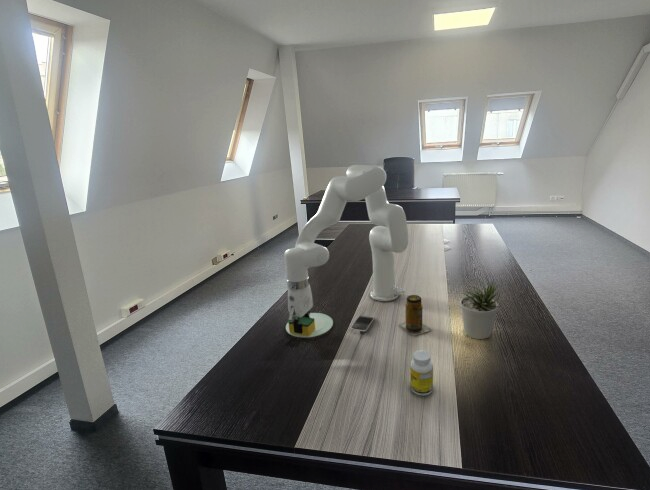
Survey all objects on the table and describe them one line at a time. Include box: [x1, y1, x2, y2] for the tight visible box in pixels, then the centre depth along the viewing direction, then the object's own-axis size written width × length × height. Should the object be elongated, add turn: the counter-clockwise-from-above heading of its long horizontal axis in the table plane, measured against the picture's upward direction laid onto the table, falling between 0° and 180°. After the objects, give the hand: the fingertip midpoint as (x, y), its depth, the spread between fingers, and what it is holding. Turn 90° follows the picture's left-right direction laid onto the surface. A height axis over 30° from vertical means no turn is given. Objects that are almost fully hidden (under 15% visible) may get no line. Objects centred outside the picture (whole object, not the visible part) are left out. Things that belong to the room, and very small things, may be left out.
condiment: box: [400, 294, 431, 337], centre depth 131 cm, size 7×8×12 cm
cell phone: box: [350, 315, 375, 334], centre depth 136 cm, size 6×11×1 cm, turn 158°
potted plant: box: [459, 281, 501, 340], centre depth 124 cm, size 13×14×20 cm
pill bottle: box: [409, 349, 434, 396], centre depth 100 cm, size 6×6×11 cm
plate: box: [285, 312, 334, 338], centre depth 137 cm, size 18×18×1 cm
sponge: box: [288, 317, 315, 336], centre depth 132 cm, size 8×5×4 cm, turn 68°
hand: (302, 328), depth 132 cm, fingers closed on sponge, 5 cm apart
